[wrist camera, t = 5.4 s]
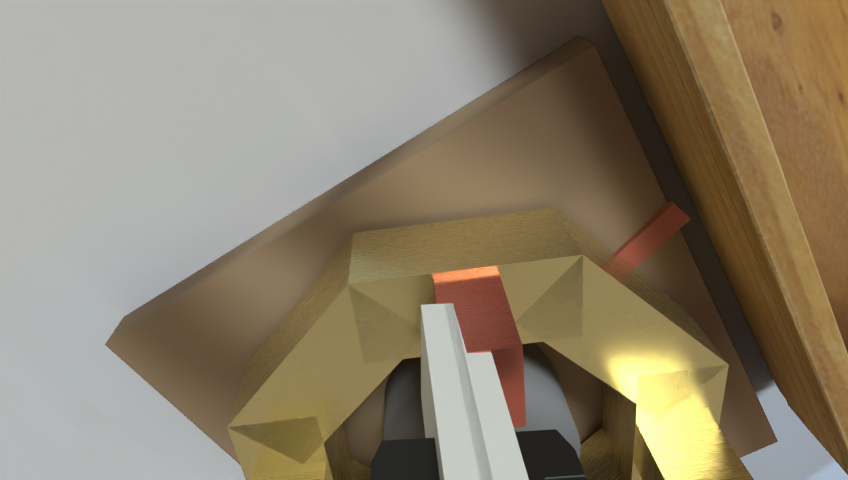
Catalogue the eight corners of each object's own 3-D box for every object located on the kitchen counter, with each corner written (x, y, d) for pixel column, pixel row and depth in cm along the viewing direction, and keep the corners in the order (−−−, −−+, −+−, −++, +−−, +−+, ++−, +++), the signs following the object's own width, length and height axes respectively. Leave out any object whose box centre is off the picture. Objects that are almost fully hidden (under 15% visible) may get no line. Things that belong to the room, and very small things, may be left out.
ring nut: (310, 557, 24) (289, 732, 18) (212, 250, 17) (136, 388, 12) (661, 514, 23) (737, 677, 18) (697, 189, 17) (831, 301, 12)
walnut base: (397, 572, 27) (399, 677, 23) (123, 316, 20) (61, 407, 16) (764, 408, 24) (837, 500, 20) (589, 28, 16) (650, 58, 13)
